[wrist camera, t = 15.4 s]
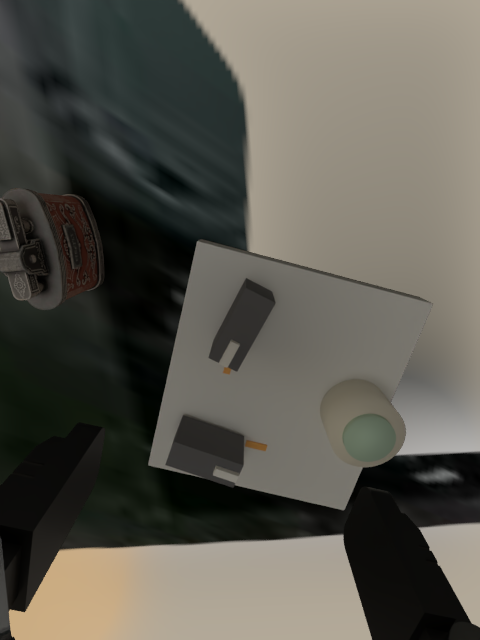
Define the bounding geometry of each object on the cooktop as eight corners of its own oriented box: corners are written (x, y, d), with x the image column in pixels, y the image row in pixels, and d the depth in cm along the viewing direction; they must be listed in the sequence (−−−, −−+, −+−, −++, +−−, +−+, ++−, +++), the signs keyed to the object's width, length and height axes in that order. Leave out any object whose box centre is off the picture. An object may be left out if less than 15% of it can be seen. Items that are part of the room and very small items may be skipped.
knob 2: (272, 291, 29) (276, 304, 24) (238, 352, 30) (236, 374, 26) (246, 277, 28) (245, 288, 24) (213, 339, 30) (207, 360, 26)
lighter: (110, 286, 32) (51, 317, 22) (74, 290, 32) (-1, 322, 22) (91, 192, 30) (16, 181, 20) (52, 196, 30) (-42, 188, 20)
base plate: (154, 448, 37) (133, 502, 30) (201, 239, 30) (187, 246, 24) (338, 491, 38) (358, 552, 31) (419, 297, 31) (466, 319, 25)
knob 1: (183, 414, 32) (173, 444, 28) (244, 435, 33) (243, 468, 28) (174, 435, 33) (164, 468, 29) (234, 456, 33) (233, 491, 29)
